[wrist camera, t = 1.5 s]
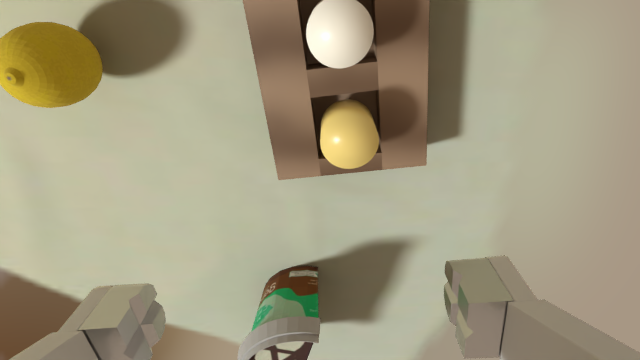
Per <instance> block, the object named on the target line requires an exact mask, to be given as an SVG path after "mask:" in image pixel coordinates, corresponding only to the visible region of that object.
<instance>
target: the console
mask: <svg viewBox="0 0 640 360" xmlns="http://www.w3.org/2000/svg"><path fill="white" fill-rule="evenodd" d="M320 1H321V0H243V4H244V9H245V14H246V19H247V24H248V29H249V34H250V39H251V44H252V49H253V54H254V59H255V64H256V69H257V74H258V79H259V84H260V89H261V94H262V99H263V104H264V109H265V114H266V119H267V124H268V129H269V134H270V139H271V144H272V149H273V154H274V159H275V164H276V169H277V174H278V179H279V180H284V179H294V178H304V177H314V176H324V175H334V174H344V173H354V172H364V171H374V170H384V169H394V168H404V167H414V166H424V165H426V157H427V104H428V50H429V0H357V1H358V2H359V3H361V4H362V5H363V6H364V7H365V8H366V10H367V11H368V13H369V14H370V16H371V19H372V22H373V28H374V35H373V41H372V44H371V47H370V49H369V51H368V52H367V54H366V55H365V56H364V58H363V59H362V60H360V61H359V62H358V63H356V64H355V65H353V66H350V67H347V68H339V69H338V68H331V67H328V66H326V65H324V64H322V63H321V62H319V61H318V60H317V59H316V58H315V57H314V56H313V54H312V53H311V51H310V49H309V46H308V43H307V39H306V28H307V23H308V20H309V18H310V15H311V13H312V11H313V9H314V8H315V6H316V5H317V4H318V3H319V2H320ZM345 99H350V100H356V101H358V102H360V103H362V104H364V105H365V106H366V107H367V108H368V109H369V111H370V113H371V115H372V117H373V120H374V123H375V126H376V129H377V132H378V136H379V145H378V149H377V152H376V154H375V155H374V157H373V158H372V159H371V160H370V161H369V162H368V163H366V164H365V165H363V166H361V167H358V168H353V169H344V168H340V167H337V166H335V165H333V164H331V163H330V162H329V161H328V160H327V159H326V158H325V156H324V155H323V153H322V150H321V146H320V137H321V120H322V117H323V114H324V112H325V111H326V109H327V108H328V107H329V106H331V105H332V104H333V103H335V102H337V101H340V100H345Z"/></svg>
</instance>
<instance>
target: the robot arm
mask: <svg viewBox="0 0 640 360" xmlns="http://www.w3.org/2000/svg"><path fill="white" fill-rule="evenodd" d="M445 275H446V277H447V280H448V282H447V283H446V284H445V285H444V299H445V306H446V310H447V314H448V317H449V320H450V322H451V323H453V324H454V325H455V326H456V338H457V341H458V344H459V346H460V349H461V352H462V354H463V357H464V358H493V357H500V360H640V352H638V351H636V350H634V349H632V348H631V347H629V346H627V345H625V344H623V343H622V342H620V341H618V340H616V339H614V338H613V337H611V336H609V335H607V334H605V333H604V332H602V331H600V330H598V329H596V328H594V327H593V326H591V325H589V324H587V323H586V322H584V321H582V320H580V319H578V318H576V317H575V316H573V315H571V314H569V313H567V312H566V311H564V310H562V309H560V308H558V307H557V306H555V305H553V304H551V303H550V302H548V301H546V300H538V299H537V298H536V296H535V295H534V294H533V292H532V290H531V289H530V288H529V286H528V285H527V283H526V282H525V281H524V279H523V278H522V276H521V275H520V273H519V272H518V271H517V269H516V268H515V266H514V265H513V264H512V262H511V261H510V259H509V258H508V257H507V256H505V255H503V256H493V257H485V258H475V259H463V260H451V261H446V264H445ZM156 295H157V293H156V291H155V288H154V286H153V285H151V284H128V285H115V286H99V287H96V288H94V289H93V290H92V291H91V292H90V293H89V294H88V296H87V297H86V298H85V299H84V300H83V302H82V303H81V304H80V305H79V307H78V308H77V309H76V310H75V311H74V313H73V314H72V315H71V316H70V318H69V319H68V320H67V321H66V322H65V324H64V325H63V326H62V327H61V329H60V330H59V331H58V332H55V333H51V334H49V335H47V336H46V337H44V338H43V339H41V340H39V341H38V342H36V343H35V344H33V345H32V346H30V347H28V348H27V349H25V350H24V351H22V352H21V353H19V354H17V355H16V356H14V357H12V358H11V359H9V360H150V359H151V357H152V351H151V347H152V346H153V345H155V344H156V343H157V342H158V341H159V340H160V338H161V336H162V334H163V332H164V327H165V321H166V320H165V312H164V310H163V307H162V305H160V304H159V303H157V302H156V301H155V298H156Z"/></svg>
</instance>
